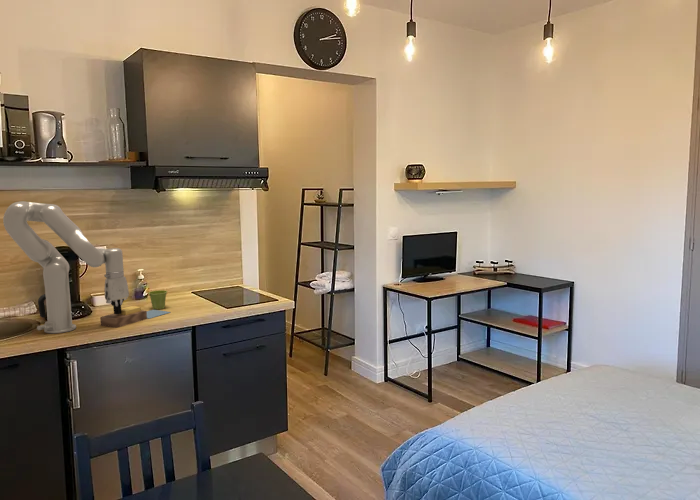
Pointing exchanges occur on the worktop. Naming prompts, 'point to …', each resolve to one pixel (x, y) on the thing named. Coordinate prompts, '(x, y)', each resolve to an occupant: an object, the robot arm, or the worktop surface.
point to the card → (130, 310)
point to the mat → (155, 313)
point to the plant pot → (158, 299)
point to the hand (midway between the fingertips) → (117, 313)
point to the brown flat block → (122, 319)
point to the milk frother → (42, 306)
